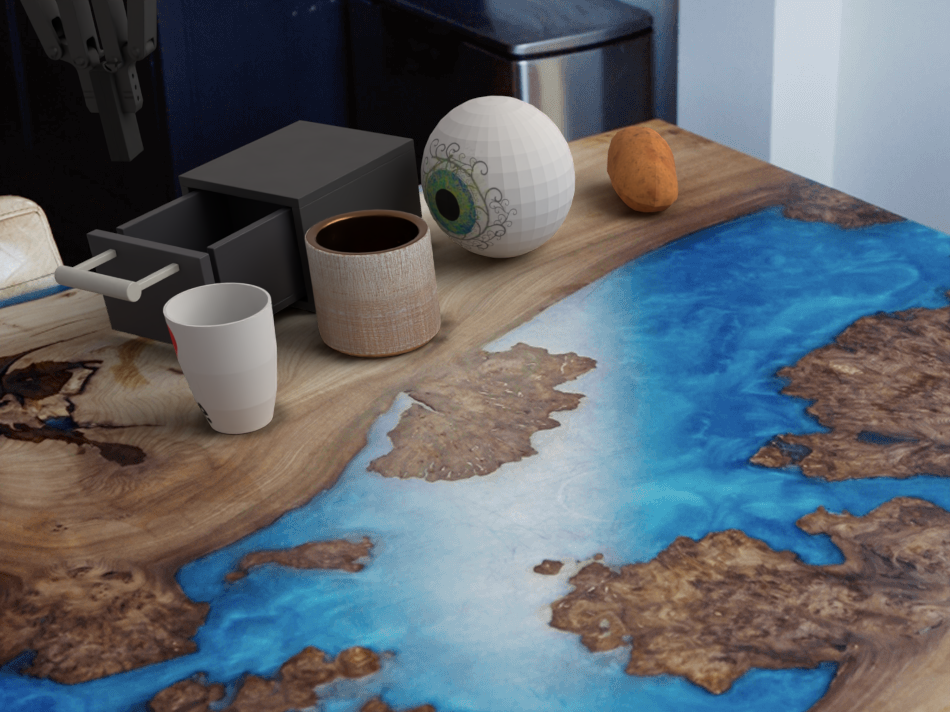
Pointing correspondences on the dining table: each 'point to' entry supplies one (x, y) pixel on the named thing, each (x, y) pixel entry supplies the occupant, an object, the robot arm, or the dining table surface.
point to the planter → (373, 282)
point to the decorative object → (498, 176)
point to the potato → (642, 169)
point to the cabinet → (316, 177)
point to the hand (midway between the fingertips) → (127, 154)
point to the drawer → (189, 258)
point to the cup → (227, 353)
